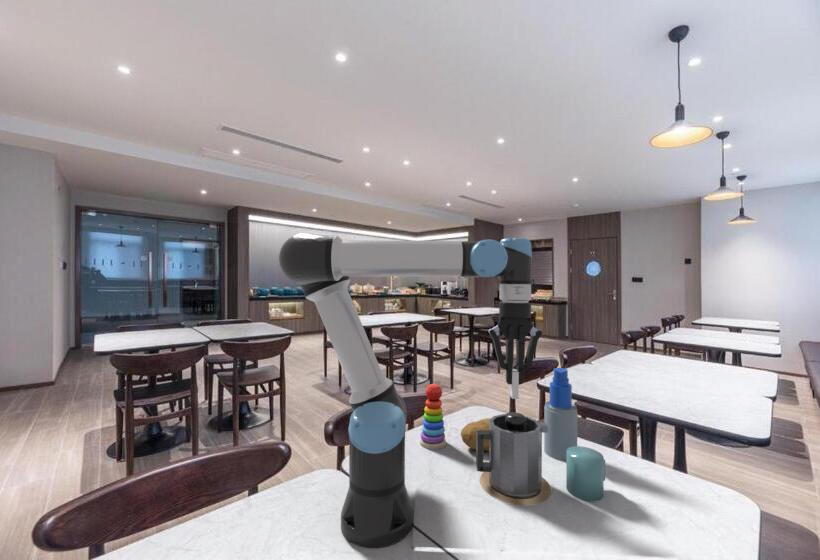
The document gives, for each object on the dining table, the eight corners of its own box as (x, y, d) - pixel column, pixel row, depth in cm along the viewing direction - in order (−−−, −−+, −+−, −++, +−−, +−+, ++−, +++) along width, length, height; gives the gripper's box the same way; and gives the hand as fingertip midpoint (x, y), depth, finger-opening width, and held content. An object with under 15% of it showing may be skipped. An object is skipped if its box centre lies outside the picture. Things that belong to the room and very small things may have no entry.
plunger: (499, 473, 86) (499, 422, 86) (492, 454, 95) (492, 408, 95) (539, 474, 85) (539, 423, 85) (528, 455, 94) (528, 409, 94)
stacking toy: (447, 451, 108) (447, 388, 108) (420, 451, 108) (420, 388, 108) (444, 439, 116) (445, 380, 116) (419, 439, 116) (420, 380, 116)
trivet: (485, 506, 82) (485, 503, 82) (475, 467, 99) (475, 465, 99) (562, 509, 81) (562, 506, 81) (539, 469, 98) (539, 467, 98)
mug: (583, 506, 82) (583, 464, 82) (559, 487, 90) (559, 448, 90) (617, 499, 85) (617, 458, 85) (590, 480, 93) (591, 443, 92)
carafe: (480, 497, 84) (480, 433, 84) (473, 469, 97) (473, 413, 97) (554, 500, 83) (554, 434, 83) (538, 471, 96) (538, 414, 96)
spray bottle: (547, 445, 112) (548, 364, 112) (579, 452, 107) (579, 368, 107) (541, 457, 105) (541, 370, 105) (574, 465, 100) (575, 374, 100)
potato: (459, 442, 114) (459, 413, 114) (509, 443, 113) (509, 413, 113) (462, 456, 105) (462, 424, 105) (516, 457, 105) (516, 425, 105)
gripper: (490, 302, 86) (489, 401, 87) (546, 302, 86) (545, 403, 86) (486, 300, 94) (485, 391, 94) (537, 300, 93) (536, 393, 93)
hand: (514, 396), depth 90 cm, fingers closed
